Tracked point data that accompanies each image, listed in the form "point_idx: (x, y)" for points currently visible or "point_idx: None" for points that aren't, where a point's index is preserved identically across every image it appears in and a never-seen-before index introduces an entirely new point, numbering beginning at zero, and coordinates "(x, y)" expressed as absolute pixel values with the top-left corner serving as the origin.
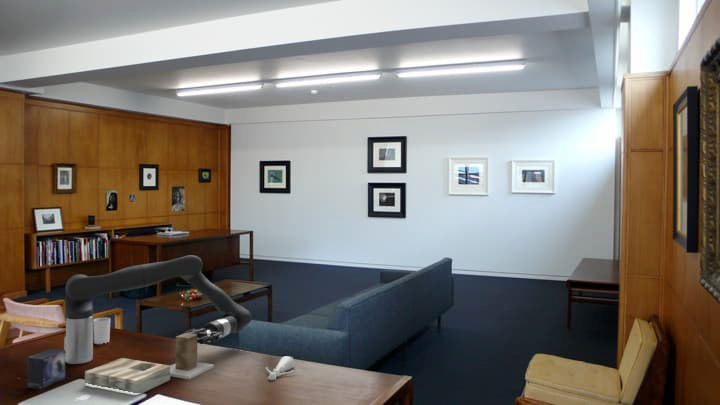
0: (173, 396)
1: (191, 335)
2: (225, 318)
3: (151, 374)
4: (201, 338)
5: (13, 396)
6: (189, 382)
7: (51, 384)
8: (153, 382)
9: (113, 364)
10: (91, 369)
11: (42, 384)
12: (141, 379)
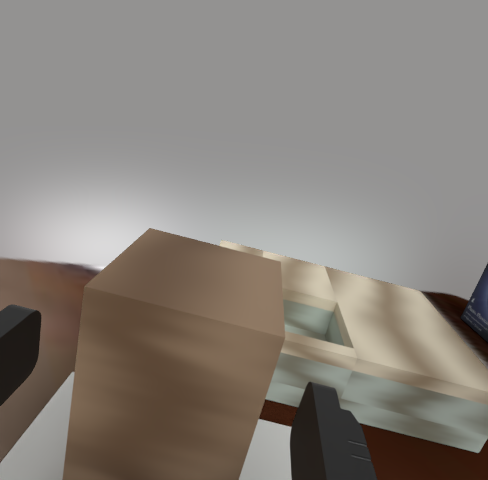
0: (96, 272)
1: (152, 271)
2: None
3: None
4: (12, 305)
5: (456, 298)
6: (63, 354)
7: (480, 333)
8: None
9: (428, 331)
10: (427, 301)
11: (466, 308)
12: None
